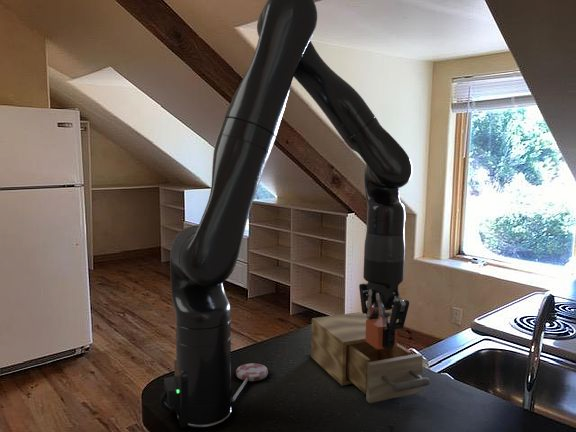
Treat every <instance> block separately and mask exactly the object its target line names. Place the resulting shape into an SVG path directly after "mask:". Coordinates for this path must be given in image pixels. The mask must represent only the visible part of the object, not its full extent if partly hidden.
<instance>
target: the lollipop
mask: <svg viewBox="0 0 576 432" xmlns="http://www.w3.org/2000/svg"><path fill="white" fill-rule="evenodd" d="M268 374H269V370H268V368H267V366H265V365H263V364H262V363H261V364H260V363H251V362H250V363H245V364H241V365H240V366H238V367H237V368H236V370H235V375H236V377H237V378H238V379H239V380H242V381H243V382H242V384H241V385H240V386H239V387H238V389H237V390H236V392H235V394H234V395H232V397H231V402H235V401H236V399H237V398H238V396H239V394H240V393H241V392H242V391H243V389H244V388H245V386H246V384H247V383H248V382H258V381H261V380H264V379H266V378H267V376H268Z"/></svg>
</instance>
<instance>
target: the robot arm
mask: <svg viewBox="0 0 576 432" xmlns="http://www.w3.org/2000/svg"><path fill="white" fill-rule="evenodd" d="M317 24H318V9H317V5H316V2H315V0H267V1H266V3H265V4H264V6H263V8H262V10H261V12H260V14H259V16H258V20H257V25H256V31H257V36H258V40H257V44H256V47H255V51H254V53H253V57H252V60H251V62H250V64H249V67H248V68H247V70H246V71H245V74H244V76H243V77H242V79H241V81H240V83H239V85H238V87H237V89H236V90H235V93H234V95H233V97H232V99H231V102H230V103H229V105H228V107H227V109H226V112H225V115H224V116H223V117H224V118H223V120H222V122H221V126H220V128H219V131H218V134H217V137H216V140H215V145H214V148H213V156H212V168H211V169H212V170H211V185H210V192H209V197H208V200H207V204H206V206H205V209H204V212H203V214H202V216H201V219H200V221H199V224H192V225H189V226H186V227H184V228H182V229H181V230H180V231H179V232H178V233H177V234H176V236H175V237H174V238H173V240H172V244H171V246H170V252H169V253H170V254H169V267H170V287H171V301H172V305H173V309H174V312H175V313H174V314H175V351H176V354H175V355H176V357H175V358H176V359H175V360H174V362H173V367H174V368H173V369H174V370H173V371H174V376H169V377H164V378H163V379H164V380H163V385H164V386H163V389H164V390H163V393H162V394H161V396H160V398H159V403H160V406H161V407H162V409H164V410H165V411H166V412H167V413H170V412H172V410H173V408H172V407H174V412H175V415H176V419H177V421H178V424H179V427H180V429H186V428H187V429H188V428H190V429H194V430H195V429H196V430H205V429H211V428H215V427H218V426H221V425H222V424H224V423H226V422H227V421H228V420H229V419H230V418H231V416H232V401H231V399H232V398H233V389H232V357H231V356H232V352H231V351H232V350H231V349H232V347H231V345H232V341H231V340H232V339H231V337H232V335H231V334H232V330H231V328H232V327H231V325H232V323H231V321H232V317H231V316H232V315H231V311H232V310H231V303H230V301H229V299H228V297H227V294H226V292H225V289H224V284H223V283H225V282H226V280H227V279H229V277H231V275H232V274H233V272H234V270H235V267H236V265H237V263H238V260H239V256H240V251H241V248H242V243H243V239H244V235H245V230H246V226H247V222H248V218H249V215H250V211H251V208H252V205H253V202H254V199H255V196H256V194H257V192H258V189H259V185H260V182H261V180H262V177H263V174H264V171H265V168H266V165H267V163H268V161H269V158H270V155H271V152H272V150H273V147H274V144H275V142H276V138H277V135H278V132H279V129H280V126H281V122H282V118H283V116H284V112H285V108H286V105H287V101H288V97H289V94H290V89H291V86H292V82H293V79H295V80H296V81H297V82H298V83H299V84H300V85H301V87H302V88H303V89H304V90H305V91H306V92H307V94H309V96H310V97H311V98H312V99H313V101H314V102H315V104H316V105H317V106H318V107H319V108H320V110H321V111H322V112H323V115H325V116H326V118H327V120H328V121H329V122H330V123H331V125H332V126H333V128H334V129H335V130H336V132H337V133H338V135H339V137H341V139H342V140H343V142H344V143H345V144H346V145H347V146H348V147H349V148H350V150H352V151H354V152H355V153H357V154H358V155H359V156H360V158H361V159H362V160H363V161H364V163H365V166H364V172H363V173H364V175H363V180H364V191H365V200H366V204H367V213H366V230H365V231H366V232H365V239H364V250H363V251H364V252H363V275H362V276H363V280H365V282H366V283H359V285H358V288H359V298H360V306H361V308H360V309H361V313H363V314H365V315H366V317H367V319H368V320H369V319H377V318H382V321H383V328H384V329H383V341H382V346H383V347H384V348H385V349H387V348H393V347H394V344H395V330H396V329H398V330H400V329H404V327H405V322H406V319H407V314H408V311H409V307H410V301H409V299H402V297H400V290H399V285H400V284H402V283H403V282H404V279H405V277H404V276H405V255H406V240H405V239H406V238H405V230H406V229H405V227H406V224H405V223H406V208H405V205H404V204H403V203H402V202H401V199H400V188H403V187H404V186H406V185H407V184H408V183H409V182H410V180H411V179H412V175H413V164H412V161H411V158H410V157H409V155H408V153H407V151H406V150H405V149H404V148H403V147H402V146H401V145H400V143H399V142H398V141H397V140H396V139H395V138H394V137H393V136H392V135H391V134H390V133H389V131H387V130H386V129H385V128H384V127H383V126H382V125H381V123H380V122H379V120H378V118H377V117H376V115H375V114H374V113H373V111H372V109H371V108H370V107H369V105H368V104H367V103H366V101H365V100H364V98H363V97H362V96H361V94H359V92H358V91H357V90H356V89H355V87H353V86H352V85H351V84H350V83H349V82H347V81H346V80H345V79H343V77H341V76H340V75H339V74H337V73H336V71H334V70H333V69H332V68H331V67H330V66H329V65H328V64H327V63H326V62H325V61H324V59H323V58H322V57H321V56H320V54H319V53H318V51H317V49H316V48H315V46H314V45H313V42H312V41H311V39H312V37H313V35H314V34H315V31H316V29H317ZM390 310H391V311H390ZM389 317H390V319H389ZM388 319H389V320H390V322H389V323H388ZM166 402H167V403H166Z"/></svg>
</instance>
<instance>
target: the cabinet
mask: <svg viewBox="0 0 576 432" xmlns="http://www.w3.org/2000/svg"><path fill="white" fill-rule="evenodd" d="M366 320H368V319H367V317H366V314H363V313H362V311H358V312H349V313H342V314H335V315H326V316H318V317H312V318H311V341H310V343H311V344H310V358H311V359H312V360H314V361H315V362H316V363H317V364H318V365H319V366H320V367H321V368H322V369H323V370H325V372H327V374H329V375H330V376H331V377H332V379H334V380H335V381H336V382H337V383H338V384H339V385H341V386H349V385H354V384H353V383H352V382H351V381H350V380H349V379H347V378H346V345H351V344H358V343H364V342H366V341H365V335H366Z"/></svg>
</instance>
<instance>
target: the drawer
mask: <svg viewBox="0 0 576 432" xmlns="http://www.w3.org/2000/svg"><path fill="white" fill-rule="evenodd" d="M412 353H413V352H412V351H411V350H409V349H407V348H406V347H405V346H403V345H401V344H399V343H398V342H397V347H393V348H387V349H385V348H384V349H378V350H377V349H376V348H374V347H373V346H371V345H370V344H369V343H367V342H364V343H358V344H351V345H346V378H347V379H349V380H350V381H351V382H352V383H353V384H352V385H354V386H355V387H356V388H358V389H359V391H361V392H362V393H363V394H364V395H366V396H365V397H366V398H365V400H366V402H368V403H369V404H373V403H378V402H382V401H386V400H391V399H396V398H401V397H405V396H409V395H414V394H418V393H419V394H420V393H422V387H427V386H429V385H430V379H429V377H423V362H424V361H423V359H424V356H423V355H422V354H420V353H413V354H412Z"/></svg>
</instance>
